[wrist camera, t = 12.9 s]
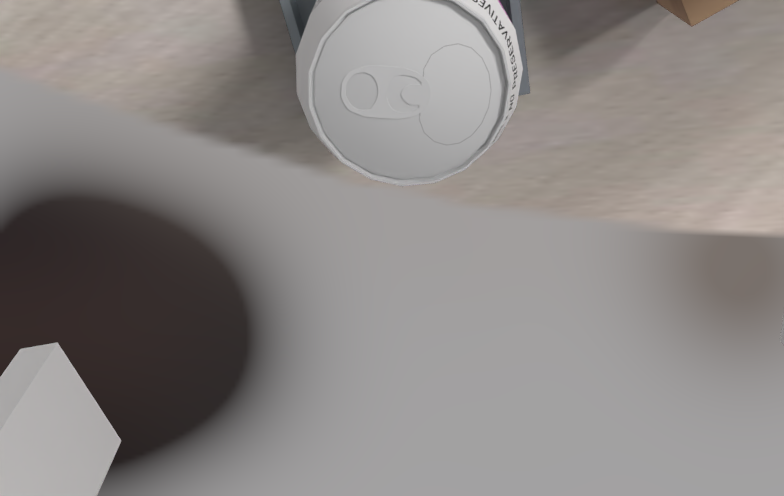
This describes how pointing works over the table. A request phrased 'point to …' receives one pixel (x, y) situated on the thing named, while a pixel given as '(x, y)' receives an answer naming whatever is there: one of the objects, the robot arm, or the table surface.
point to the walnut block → (695, 8)
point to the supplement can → (408, 84)
